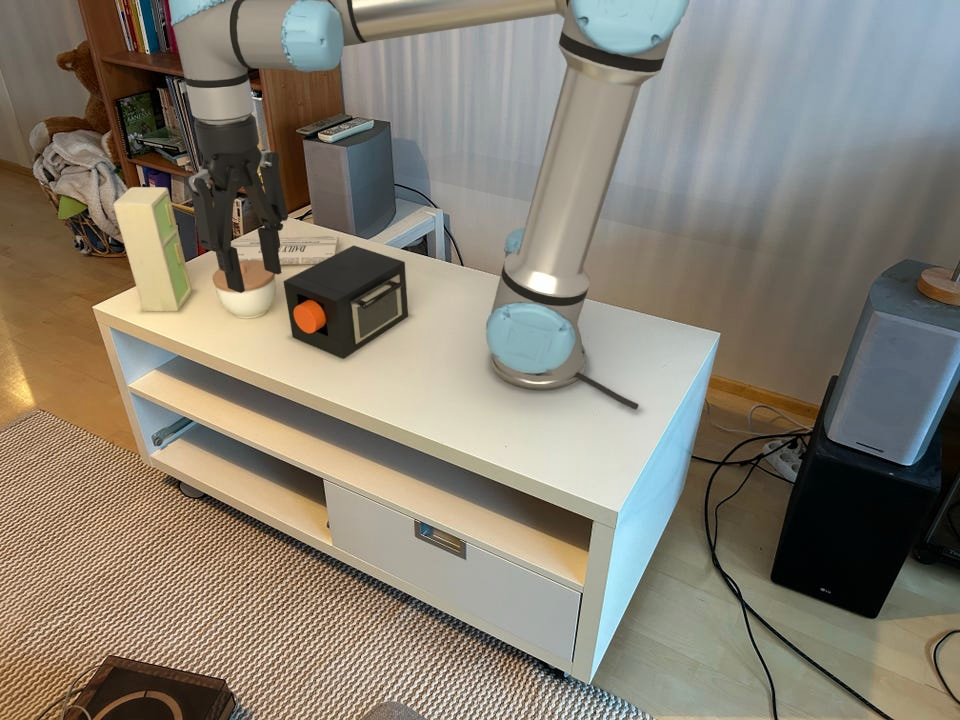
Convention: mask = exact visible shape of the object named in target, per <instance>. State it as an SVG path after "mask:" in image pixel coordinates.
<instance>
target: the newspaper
mask: <svg viewBox="0 0 960 720" xmlns="http://www.w3.org/2000/svg"><path fill="white" fill-rule="evenodd" d="M279 239H280V248H279V249H278V254H279V260H280V266H290V265H291V266H293V265H295V266H297V265H316V264H318V263H320V262H322V261H324V260H326V259H328V258H330V257H332V256H334V255H335V254H337V253H336V252H337V247H338V244H339V236H336V235H326V236H325V235H323V236H321V235H320V236H305V237H304V236H303V237H279ZM231 247H234V248H237V253H238V258H239V261H244V260H258V261H263V256H262V251H261V245H260V240H259V238H237V239H235V238H234V239H233V241H232V242H231Z"/></svg>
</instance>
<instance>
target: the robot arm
mask: <svg viewBox="0 0 960 720" xmlns="http://www.w3.org/2000/svg"><path fill="white" fill-rule="evenodd" d="M690 2H691V0H168V5H169V6H168V7H169V13H170V19H171V21H170V25H171V27H172V29H173V33H174V37H175V41H176V45H177V50H178V54H179V58H180V62H181V66H182V71H183V77H184V83H185V87H186V92H187V97H188V101H189V107H190V112H191V115H192V116H193V117H194V118H196V119H195V120H194V122H193V127H194V132H195V136H196V141H197V146H198V148H199V150H200V152H201V154H202V160H203V161H202V164H201V170H199V171H198V172H197V173H195V174H194V175H192V174H187V175H185V177H184V182H185V185H186V186H187V188H188V190H189V191H190V193H191V194H190V195H191V200H192V208H193V212H194V220H195V225H196V230H197V231H196V232H197V237H198V243H199V247H201V248H203V249H206V250H208V251H211V252H213V253H215V255H216V260H217V266H218V269H219V268H220V270H222V271H224V272H225V276H226V281H227V286H228V288H229V289H232V290H234V291H237V292H239V293H242V292H244V291H245V288H244V283H243V278H242V273H241V268H240V263H239V258H238V253H237V248H234V247H231V245H232V237H233V236H232V233H233V220H234V219H233V218H234V205H235V200H237V197H238V191H240V190H241V189H242V188H243V189H244V192H245V193H246V196H247V198H248V199H249V202H250V204H251V206H252V208H253V210H254V211H255V213H256V215H257V218H258V220H259V222H260V224H261V225H262V226H263V227H262V226H261V227H258V228H257V234H258V239H259V240H260V245H261V251H262V256H263V262H264V267H265V270H266V271H269V272H272V273H274V274H275V275H277V276H279V275H281V274H282V267H281V266H282V265H280V260H279V254H278V249H279V248H280V239H279V238H280V234H279V233H280V232H279V231H282V230H283V228H284V224H283V223H282V222H287V220H288V219H289V214H288V209H287V203H286V200H285V195H284V190H283V185H282V181H281V176H280V171H279V164H280V154H279V153H278V152H277V151H273V150H269V149H265V148H262V149H261V150H260V148H259V146H258V145H259V144H260V137H259V136H260V135H259V131H258V125H257V124H258V123H257V119H256V117H255V115H254V114H252V113H254V111H255V105H254V100H253V93H252V88H251V82H250V76H249V71H248V69H261V70H279V71H297V72H304V73H313V72H317V71H318V72H321V71H325V72H326V71H332V70H335V68H337V67H338V66H339V64H340V61H341V57H342V56H343V52H344V47H349V46H354V45H362V44H366V43H371V42H377V41H383V40H389V39H391V40H392V39H397V38H404V37H411V36H417V35H423V34H430V33H438V32H444V31H451V30H457V29H464V28H472V27H477V26H484V25H491V24H497V23H504V22H505V23H506V22H510V21H511V22H512V21H518V20H524V19H525V20H526V19H532V18H538V17H539V18H540V17H546V16H551V15H553V16H554V15H559V16H560V17H562V18H563V23H562V28H561V32H560V35H559V39H558V45H557V46H558V49H559V50H560V52H561V54H562V56H563V57H564V59H565V62H566V67H565V71H564V76H563V78H562V83H561V88H560V90H559V95H558V99H557V103H556V106H555V110H554V114H553V117H552V122H551V125H550V129H549V134H548V137H547V141H546V145H545V148H544V151H543V152H544V153H543V155H542V160H541V164H540V168H539V171H538V175H537V178H536V183H535V186H534V191H533V195H532V198H531V203H530V207H529V210H528V214H527V218H526V221H525V226H524V227H521V228H518V229H515V230H512V231H511V232H510V233H509V234H508V235H507V236H506V238H505V245H504V248H503V251H504V262H503V264H502V269H501V272H500V277H499V281H498V285H497V288H496V292H495V297H494V301H493V304H492V307H491V311H490V314H489V315H488V317H487V320H486V324H485V337H486V338H485V339H486V343H487V346H488V348H489V350H490V352H491V365H492V368H493V371H494V372H495V373H496V375H497V376H498V377H499V378H500V379H502V380H503V381H505V382H507V383H508V384H510V385H512V386H515V387H519V388H523V389H527V390H534V391H548V390H556V389H560V388H563V387H566V386H569V385H571V384H573V383H575V382H576V381H578V380H581V381H582V382H584V383H586V384H587V385H589V386H591V387H593V388H594V389H597V390H598V391H600V392H602V393H603V394H605V395H607V396H608V397H610V398H612V399H614V400H615V401H617V402H619V403H621V404H623V405H626V406H628V407H629V408H632V409H634V410H637V409H638V408H639V403H637V402H636V401H635V402H634V401H632V400H631V399H628V398H626V397H624V396H622V395H620V394H618V393H616V391H613V390H611V389H609V388H608V387H606V386H604V385H603V384H601V383H599V382H597V381H595V380H594V379H592V378H590V377H588V376H586V375H584V373H585V370H586V363H587V354H586V349H585V346H584V345H583V341H582V337H581V336H582V335H581V332H580V328H579V325H578V323H579V319H580V315H581V312H582V309H583V307H584V303H585V300H586V298H587V295H588V291H589V288H590V286H591V279H590V276H589V274H588V272H587V271H586V269H585V263H586V259H587V256H588V253H589V249H590V247H591V244H592V241H593V237H594V234H595V231H596V228H597V225H598V222H599V218H600V215H601V212H602V209H603V206H604V203H605V201H606V197H607V194H608V190H609V188H610V185H611V182H612V179H613V175H614V172H615V169H616V165H617V163H618V160H619V157H620V153H621V150H622V148H623V144H624V141H625V137H626V135H627V131H628V128H629V125H630V122H631V119H632V116H633V113H634V109H635V106H636V103H637V100H638V98H639V94H640V90H641V88H642V85H643V84H644V83H645V82H646V81H648V80H650V79H651V78H653V77H655V76H657V75H658V74H660V73H661V71H662V67H663V65H664V61H665V59H666V56H667V52H668V49H669V47H670V44H671V41H672V38H673V35H674V33H675V32H674V31H675V30H676V29H677V27H678V26H679V25H680V24H681V22H682V19H683V18H684V17H685V15H686V12H687V10H688V8H689V5H690ZM258 169H259V173H260V175H259V173H258ZM210 180H211V183H212V184H210ZM212 196H213V197H212Z"/></svg>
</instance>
